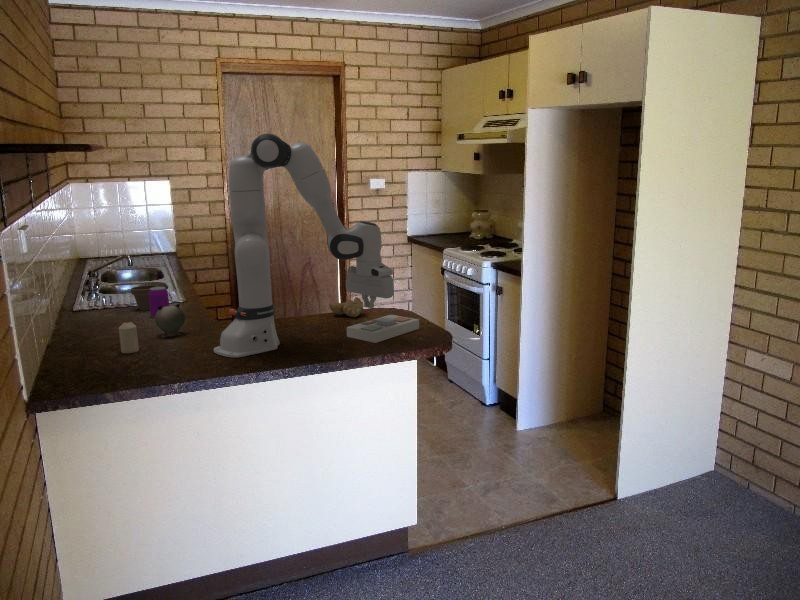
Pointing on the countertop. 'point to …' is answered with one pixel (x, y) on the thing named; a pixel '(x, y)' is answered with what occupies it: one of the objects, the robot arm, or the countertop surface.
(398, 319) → the terracotta key
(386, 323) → the grey key
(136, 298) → the flower pot
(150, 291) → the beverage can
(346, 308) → the ginger root
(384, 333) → the keypad
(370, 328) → the sage key
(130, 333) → the candle
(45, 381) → the countertop surface
